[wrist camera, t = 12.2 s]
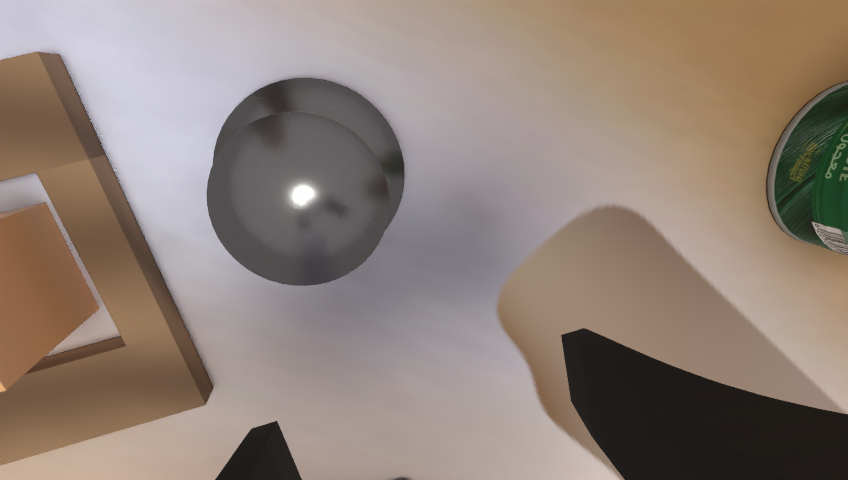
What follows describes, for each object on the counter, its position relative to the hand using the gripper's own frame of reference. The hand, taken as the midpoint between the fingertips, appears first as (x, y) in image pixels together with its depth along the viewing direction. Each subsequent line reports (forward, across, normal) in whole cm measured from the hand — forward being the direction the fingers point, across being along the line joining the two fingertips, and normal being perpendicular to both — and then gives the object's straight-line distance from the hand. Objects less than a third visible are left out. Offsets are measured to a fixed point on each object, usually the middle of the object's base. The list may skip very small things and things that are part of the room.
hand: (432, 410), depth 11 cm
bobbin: (+9, +2, -5) cm, 11 cm away
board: (+9, +14, -4) cm, 17 cm away
